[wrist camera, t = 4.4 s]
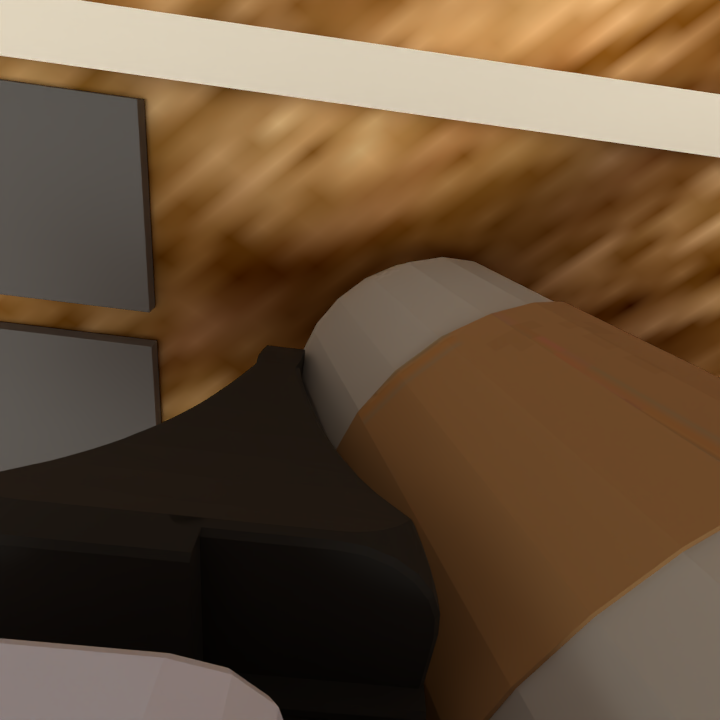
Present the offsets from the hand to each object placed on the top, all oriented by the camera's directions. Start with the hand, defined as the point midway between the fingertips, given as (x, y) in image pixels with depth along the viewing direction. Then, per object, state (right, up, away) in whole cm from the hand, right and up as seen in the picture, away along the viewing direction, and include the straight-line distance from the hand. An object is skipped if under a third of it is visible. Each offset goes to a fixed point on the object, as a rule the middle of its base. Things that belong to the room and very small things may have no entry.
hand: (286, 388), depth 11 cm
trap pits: (-6, +2, +3) cm, 7 cm away
